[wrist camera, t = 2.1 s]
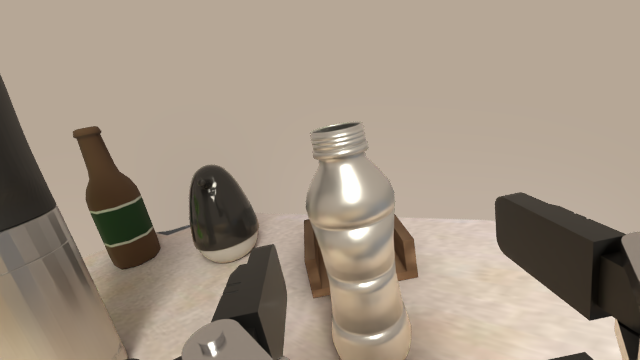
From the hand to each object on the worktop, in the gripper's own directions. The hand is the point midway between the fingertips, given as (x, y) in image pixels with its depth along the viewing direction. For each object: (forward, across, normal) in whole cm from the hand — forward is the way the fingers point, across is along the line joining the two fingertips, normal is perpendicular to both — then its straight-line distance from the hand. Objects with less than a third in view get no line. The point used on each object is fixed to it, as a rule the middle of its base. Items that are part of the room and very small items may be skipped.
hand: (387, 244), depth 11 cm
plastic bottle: (+12, 0, +17) cm, 21 cm away
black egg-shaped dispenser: (+36, +18, +16) cm, 43 cm away
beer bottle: (+42, +37, +16) cm, 58 cm away
